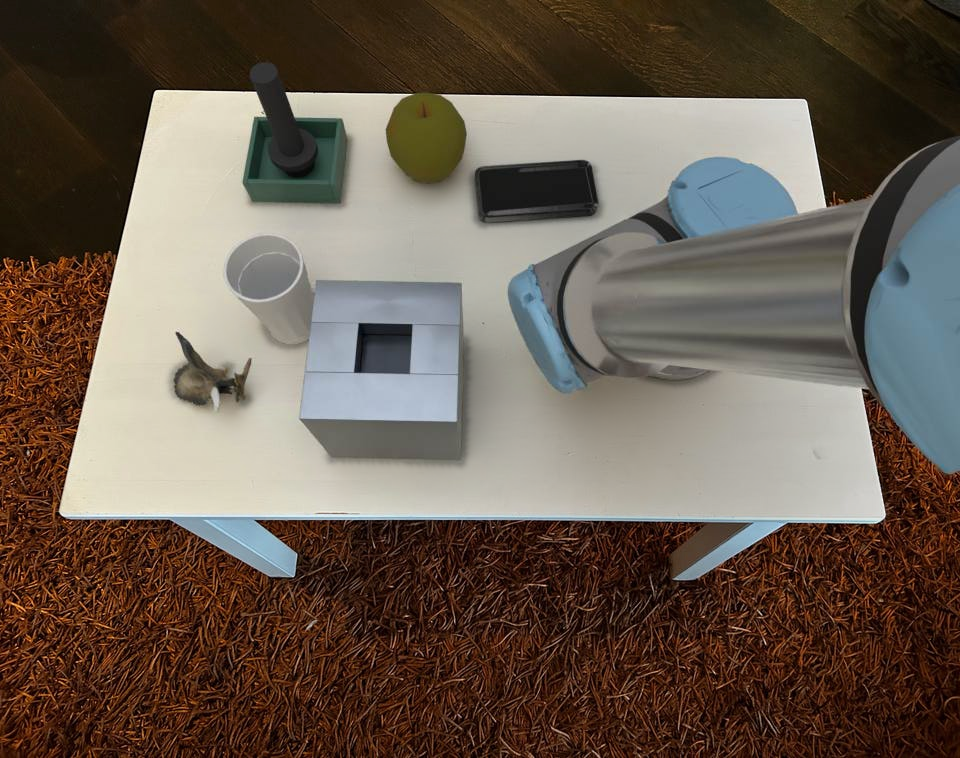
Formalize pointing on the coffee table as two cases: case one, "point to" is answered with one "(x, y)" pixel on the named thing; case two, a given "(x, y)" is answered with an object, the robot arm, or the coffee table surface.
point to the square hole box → (385, 369)
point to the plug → (283, 124)
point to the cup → (272, 284)
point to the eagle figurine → (205, 379)
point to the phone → (535, 191)
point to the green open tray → (314, 188)
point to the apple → (426, 137)
